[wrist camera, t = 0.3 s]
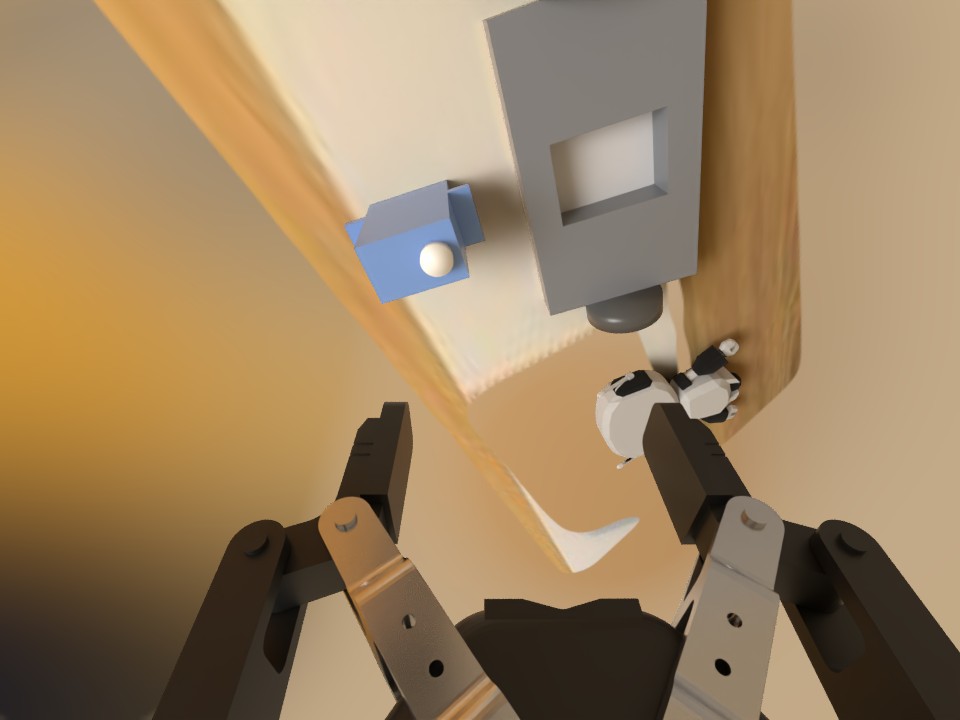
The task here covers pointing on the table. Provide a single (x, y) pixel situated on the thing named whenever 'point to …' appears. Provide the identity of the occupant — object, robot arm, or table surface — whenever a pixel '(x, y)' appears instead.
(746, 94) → the table surface
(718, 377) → the robot toy
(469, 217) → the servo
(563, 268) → the chassis
